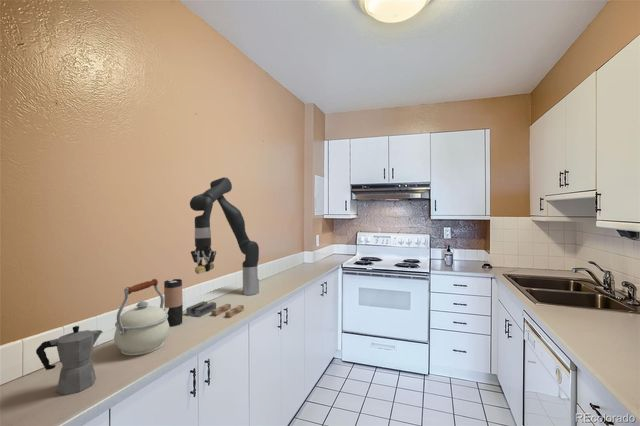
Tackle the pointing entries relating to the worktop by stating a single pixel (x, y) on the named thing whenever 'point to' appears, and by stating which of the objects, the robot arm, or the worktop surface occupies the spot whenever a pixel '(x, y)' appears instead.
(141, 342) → the kettle
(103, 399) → the worktop surface
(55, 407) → the worktop surface
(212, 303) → the v block
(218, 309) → the parallel bars
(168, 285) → the travel mug
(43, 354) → the coffeepot
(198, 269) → the axle
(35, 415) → the worktop surface
